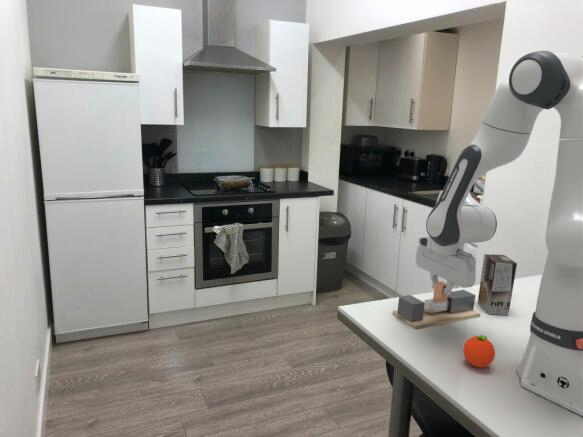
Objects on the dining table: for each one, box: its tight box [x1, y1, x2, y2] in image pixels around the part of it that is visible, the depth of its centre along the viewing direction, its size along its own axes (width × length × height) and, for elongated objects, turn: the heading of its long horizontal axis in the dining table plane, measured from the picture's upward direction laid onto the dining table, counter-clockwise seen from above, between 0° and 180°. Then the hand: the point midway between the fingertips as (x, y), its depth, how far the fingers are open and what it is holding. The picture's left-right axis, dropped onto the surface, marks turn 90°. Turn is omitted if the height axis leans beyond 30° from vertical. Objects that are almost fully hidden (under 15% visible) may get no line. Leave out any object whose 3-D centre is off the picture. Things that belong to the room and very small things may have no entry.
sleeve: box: [445, 289, 476, 314], centre depth 140 cm, size 5×9×5 cm, turn 116°
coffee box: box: [477, 253, 518, 316], centre depth 143 cm, size 9×6×16 cm
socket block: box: [397, 294, 425, 322], centre depth 132 cm, size 6×4×5 cm, turn 26°
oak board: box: [392, 309, 482, 330], centre depth 137 cm, size 10×24×1 cm, turn 116°
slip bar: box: [424, 280, 451, 313], centre depth 138 cm, size 3×15×8 cm, turn 116°
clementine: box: [462, 334, 496, 368], centre depth 110 cm, size 8×7×7 cm
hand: (441, 291), depth 136 cm, fingers closed on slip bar, 3 cm apart
